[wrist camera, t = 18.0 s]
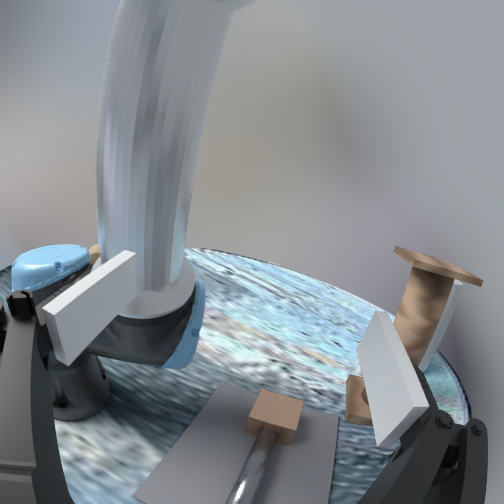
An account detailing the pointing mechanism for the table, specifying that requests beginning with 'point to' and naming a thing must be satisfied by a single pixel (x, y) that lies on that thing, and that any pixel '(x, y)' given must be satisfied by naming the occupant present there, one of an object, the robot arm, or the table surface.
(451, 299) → the cylinder vase
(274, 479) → the rubber mat
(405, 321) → the bobbin stand
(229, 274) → the table surface
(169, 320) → the robot arm
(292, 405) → the wooden mallet
